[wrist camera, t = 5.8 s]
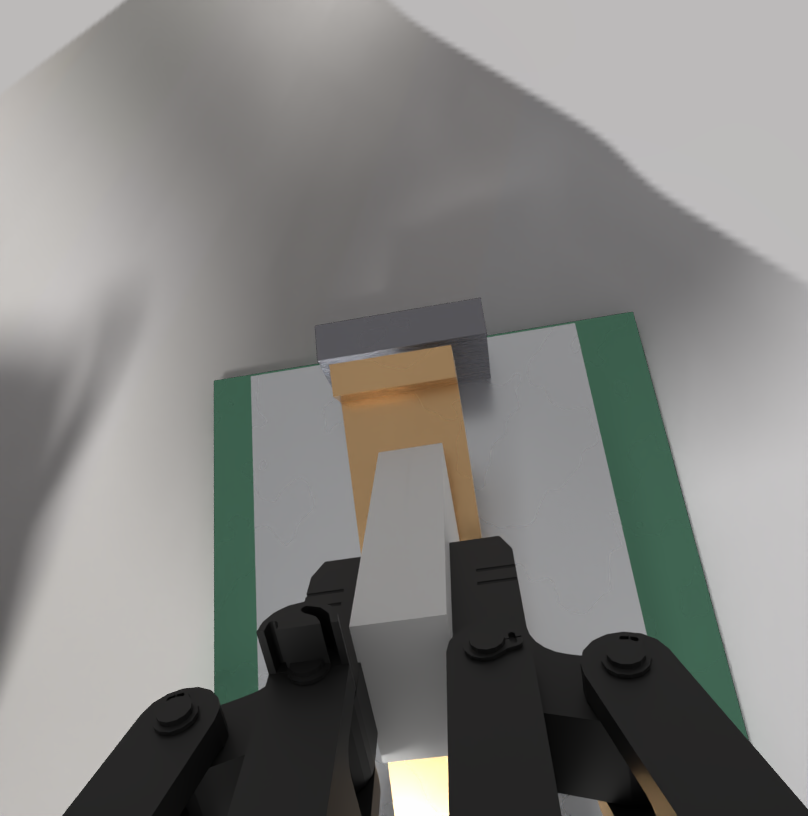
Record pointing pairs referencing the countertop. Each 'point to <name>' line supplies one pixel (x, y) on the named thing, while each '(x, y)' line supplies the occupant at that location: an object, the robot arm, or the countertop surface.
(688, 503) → the countertop surface
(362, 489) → the tan rectangular bar
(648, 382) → the green base fixture
